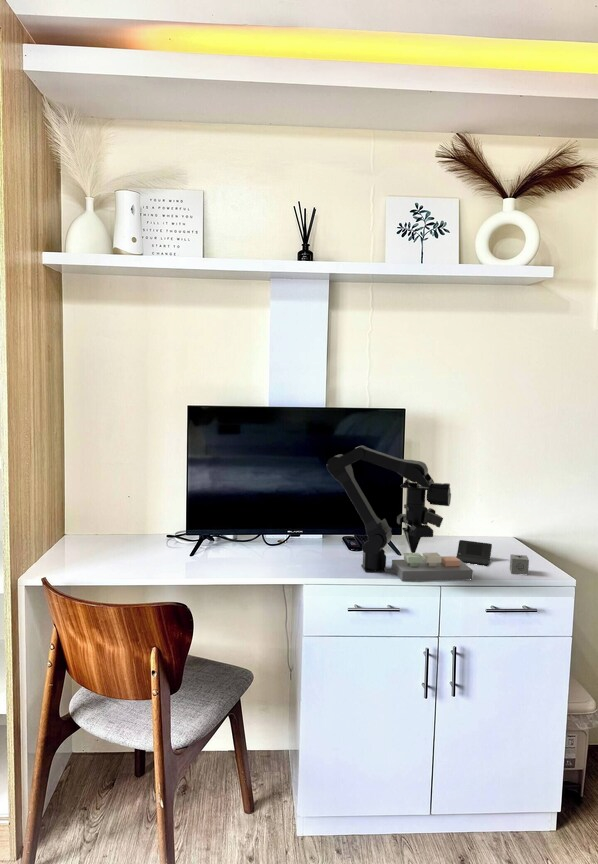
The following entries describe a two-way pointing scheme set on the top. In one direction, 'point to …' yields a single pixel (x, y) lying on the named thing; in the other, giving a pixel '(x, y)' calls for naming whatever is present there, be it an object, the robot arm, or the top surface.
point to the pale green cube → (413, 559)
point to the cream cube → (432, 558)
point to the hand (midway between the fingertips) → (413, 552)
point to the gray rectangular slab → (431, 571)
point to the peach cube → (450, 561)
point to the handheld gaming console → (474, 552)
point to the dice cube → (519, 564)
